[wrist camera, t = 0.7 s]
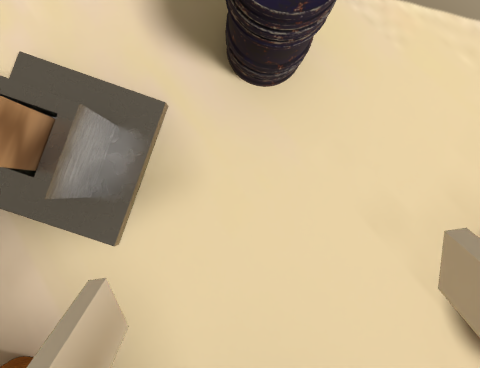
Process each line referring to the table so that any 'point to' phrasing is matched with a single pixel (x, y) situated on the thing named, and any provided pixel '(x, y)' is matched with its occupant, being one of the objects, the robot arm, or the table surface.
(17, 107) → the column
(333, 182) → the table surface
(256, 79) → the storage jar
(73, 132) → the grey socket base
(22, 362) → the disposable coffee cup
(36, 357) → the robot arm
